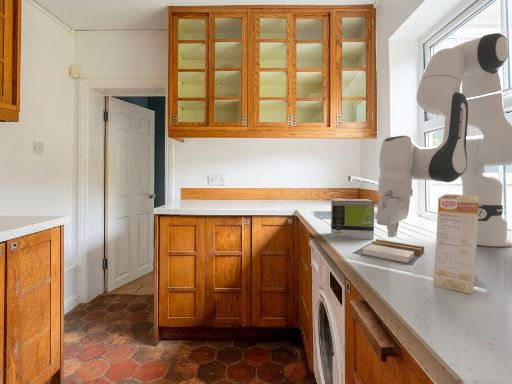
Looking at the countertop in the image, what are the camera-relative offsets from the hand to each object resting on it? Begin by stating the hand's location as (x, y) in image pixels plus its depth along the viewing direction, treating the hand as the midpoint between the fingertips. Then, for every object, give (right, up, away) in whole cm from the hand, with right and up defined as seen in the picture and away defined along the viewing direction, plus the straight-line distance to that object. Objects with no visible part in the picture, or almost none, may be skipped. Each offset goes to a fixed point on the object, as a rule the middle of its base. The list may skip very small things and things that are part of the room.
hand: (392, 236), depth 82 cm
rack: (+4, -5, +5) cm, 8 cm away
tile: (0, -4, 0) cm, 4 cm away
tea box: (-4, -4, +25) cm, 26 cm away
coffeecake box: (+5, -7, -19) cm, 21 cm away
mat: (0, -6, +1) cm, 6 cm away
